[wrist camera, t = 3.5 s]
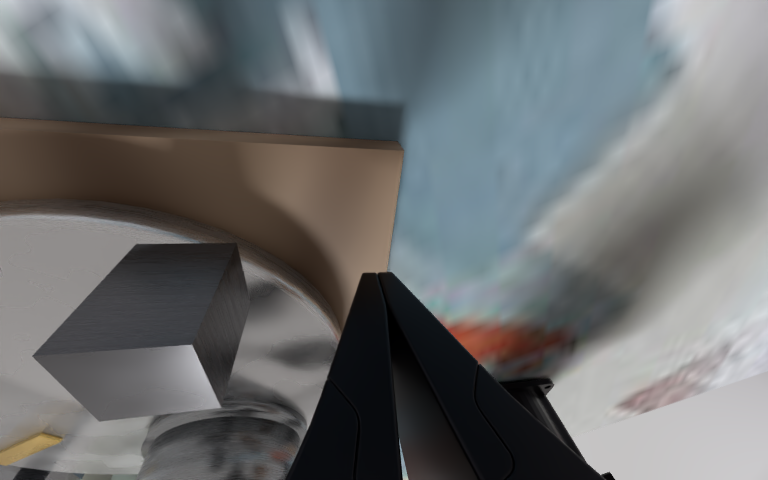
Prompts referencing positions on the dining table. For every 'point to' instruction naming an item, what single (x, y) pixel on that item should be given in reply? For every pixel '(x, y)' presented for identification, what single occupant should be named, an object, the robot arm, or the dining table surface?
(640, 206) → the dining table surface
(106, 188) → the base board
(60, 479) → the dial gauge
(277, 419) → the cover
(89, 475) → the valve
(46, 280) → the turntable
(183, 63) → the dining table surface
